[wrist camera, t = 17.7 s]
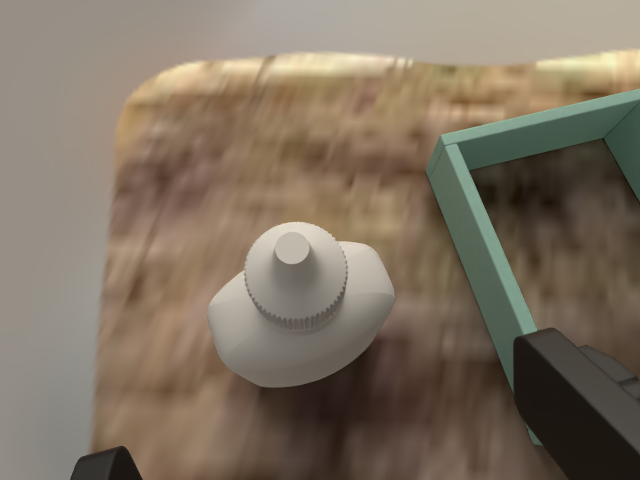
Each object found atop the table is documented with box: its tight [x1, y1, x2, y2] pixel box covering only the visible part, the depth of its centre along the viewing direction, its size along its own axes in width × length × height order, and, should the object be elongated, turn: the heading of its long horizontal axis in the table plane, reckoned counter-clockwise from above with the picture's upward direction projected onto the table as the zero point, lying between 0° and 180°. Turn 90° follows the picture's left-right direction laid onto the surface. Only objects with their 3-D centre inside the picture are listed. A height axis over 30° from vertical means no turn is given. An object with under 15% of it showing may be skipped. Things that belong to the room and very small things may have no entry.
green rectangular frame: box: [426, 89, 640, 445], centre depth 20 cm, size 13×10×3 cm
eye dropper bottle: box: [207, 222, 395, 387], centre depth 15 cm, size 4×6×12 cm
